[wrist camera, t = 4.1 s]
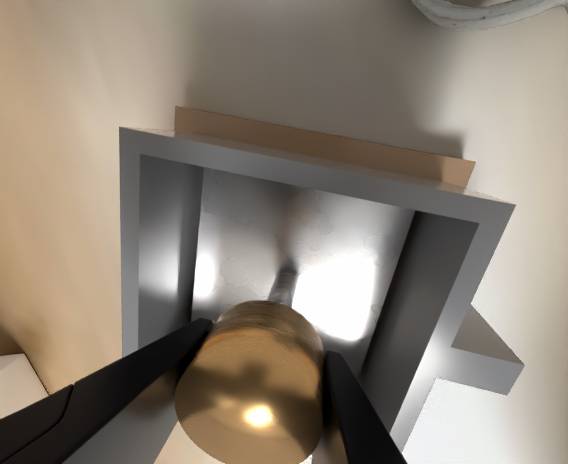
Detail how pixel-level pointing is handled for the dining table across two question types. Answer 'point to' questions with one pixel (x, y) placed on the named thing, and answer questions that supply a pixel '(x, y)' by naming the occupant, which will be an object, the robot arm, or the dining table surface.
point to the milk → (18, 384)
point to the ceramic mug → (482, 12)
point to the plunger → (280, 310)
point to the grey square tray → (339, 180)
